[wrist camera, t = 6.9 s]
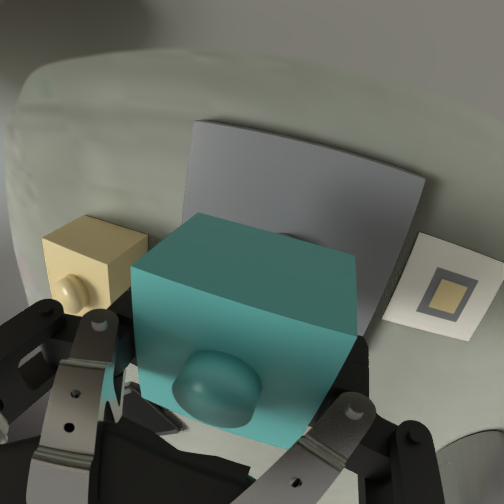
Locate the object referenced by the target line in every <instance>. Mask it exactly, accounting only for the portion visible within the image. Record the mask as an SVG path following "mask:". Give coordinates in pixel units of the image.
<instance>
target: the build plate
mask: <svg viewBox="0 0 504 504" xmlns="http://www.w3.org/2000/svg"><path fill="white" fill-rule="evenodd" d="M425 181H426V179H425V178H424V177H422V176H421V175H420V174H417V173H414V172H411V171H408V170H405V169H403V168H400V167H397V166H394V165H391V164H388V163H385V162H381V161H378V160H375V159H372V158H369V157H365V156H362V155H359V154H355V153H352V152H348V151H345V150H341V149H338V148H334V147H330V146H327V145H323V144H319V143H315V142H311V141H307V140H303V139H299V138H295V137H291V136H286V135H282V134H277V133H273V132H268V131H263V130H258V129H253V128H248V127H243V126H237V125H232V124H226V123H220V122H214V121H208V120H196V121H194V122H193V129H192V136H191V144H190V151H189V159H188V168H187V176H186V185H185V194H184V204H183V215H182V224H184V223H185V222H186V221H188V220H189V219H190V218H191V217H193V216H194V215H195V214H197V213H198V212H199V213H203V214H207V215H210V216H214V217H218V218H222V219H225V220H229V221H233V222H237V223H240V224H244V225H248V226H251V227H255V228H259V229H262V230H266V231H270V232H273V233H277V234H280V235H284V236H288V237H291V238H295V239H298V240H302V241H305V242H309V243H312V244H316V245H319V246H323V247H326V248H330V249H333V250H337V251H340V252H344V253H347V254H351V255H354V256H355V265H356V288H357V335H360V336H363V335H364V333H365V331H366V329H367V327H368V325H369V323H370V321H371V319H372V317H373V314H374V312H375V310H376V308H377V306H378V304H379V301H380V299H381V297H382V295H383V293H384V290H385V288H386V286H387V283H388V281H389V279H390V276H391V274H392V272H393V269H394V267H395V264H396V262H397V259H398V257H399V254H400V252H401V249H402V247H403V244H404V242H405V239H406V236H407V234H408V231H409V228H410V225H411V223H412V220H413V217H414V214H415V211H416V208H417V205H418V202H419V199H420V196H421V193H422V190H423V187H424V184H425Z"/></svg>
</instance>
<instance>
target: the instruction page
mask: <svg viewBox="0 0 504 504" xmlns="http://www.w3.org/2000/svg"><path fill="white" fill-rule="evenodd" d="M503 280H504V263H503V262H500V261H498V260H495V259H493V258H490V257H488V256H485V255H482V254H480V253H477V252H474V251H472V250H469V249H466V248H464V247H461V246H458V245H455V244H453V243H450V242H447V241H444V240H442V239H439V238H436V237H433V236H430V235H427V234H424V233H421V232H419V234H418V236H417V239H416V241H415V244H414V247H413V249H412V252H411V254H410V256H409V259H408V261H407V264H406V266H405V268H404V271H403V273H402V275H401V278H400V280H399V282H398V285H397V287H396V289H395V291H394V293H393V296H392V298H391V300H390V302H389V304H388V306H387V308H386V310H385V313H384V315H383V317H382V319H383V320H387V321H391V322H395V323H398V324H402V325H406V326H410V327H413V328H417V329H421V330H425V331H429V332H433V333H437V334H441V335H445V336H448V337H452V338H456V339H460V340H465V341H469V340H470V338H471V336H472V335H473V333H474V332H475V330H476V328H477V327H478V325H479V324H480V322H481V320H482V319H483V317H484V315H485V313H486V312H487V310H488V308H489V306H490V305H491V303H492V301H493V299H494V297H495V295H496V294H497V292H498V290H499V288H500V286H501V284H502V282H503Z"/></svg>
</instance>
